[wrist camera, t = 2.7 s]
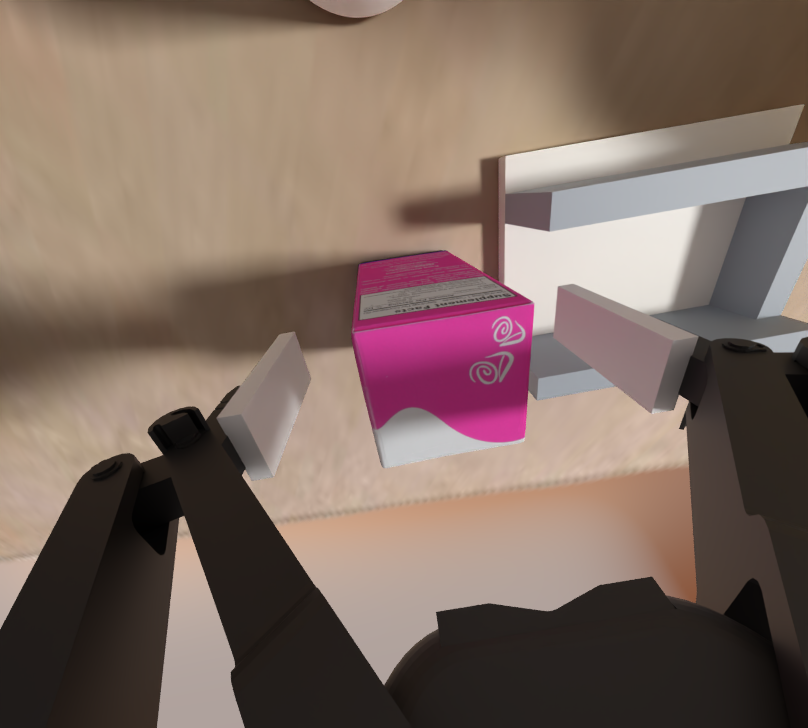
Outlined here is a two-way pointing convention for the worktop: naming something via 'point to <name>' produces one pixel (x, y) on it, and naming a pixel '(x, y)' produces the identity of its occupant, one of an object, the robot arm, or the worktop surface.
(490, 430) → the supplement box
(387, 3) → the beverage can
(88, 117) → the worktop surface
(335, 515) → the worktop surface
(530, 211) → the slot cradle
